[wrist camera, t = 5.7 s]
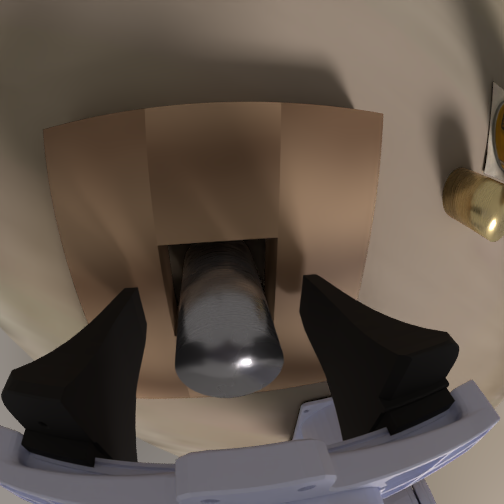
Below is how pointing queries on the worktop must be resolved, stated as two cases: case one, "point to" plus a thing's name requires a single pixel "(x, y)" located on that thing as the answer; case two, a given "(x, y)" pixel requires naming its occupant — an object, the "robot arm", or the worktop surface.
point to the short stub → (475, 202)
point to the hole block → (215, 210)
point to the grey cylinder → (224, 323)
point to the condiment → (496, 136)
